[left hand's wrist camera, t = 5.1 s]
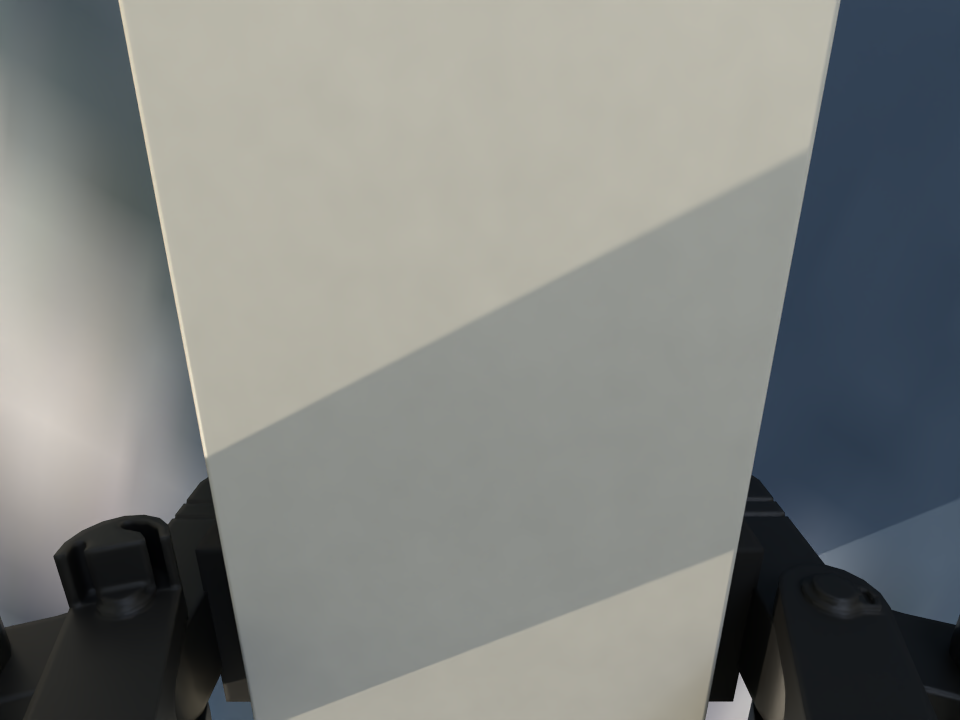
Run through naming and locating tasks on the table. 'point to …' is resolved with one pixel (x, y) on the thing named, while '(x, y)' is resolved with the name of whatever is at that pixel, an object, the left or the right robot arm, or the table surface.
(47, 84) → the table surface
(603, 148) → the beam
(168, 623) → the left robot arm
